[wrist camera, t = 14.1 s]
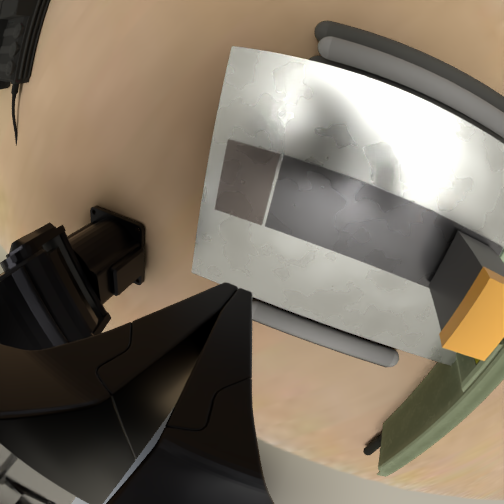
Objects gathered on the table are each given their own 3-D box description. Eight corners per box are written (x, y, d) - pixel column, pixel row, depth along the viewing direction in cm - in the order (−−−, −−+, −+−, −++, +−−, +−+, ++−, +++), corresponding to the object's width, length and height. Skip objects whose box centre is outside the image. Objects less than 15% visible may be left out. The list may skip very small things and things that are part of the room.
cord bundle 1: (305, 78, 16) (296, 73, 13) (319, 22, 13) (313, 8, 11) (499, 162, 13) (519, 171, 11) (515, 108, 11) (536, 110, 9)
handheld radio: (506, 296, 17) (380, 445, 30) (479, 285, 18) (358, 440, 30) (534, 352, 11) (373, 489, 24) (505, 343, 12) (349, 485, 25)
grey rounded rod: (244, 306, 25) (231, 328, 22) (254, 268, 23) (241, 288, 20) (390, 359, 23) (391, 383, 20) (414, 327, 20) (418, 351, 18)
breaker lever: (426, 286, 16) (441, 347, 12) (457, 228, 14) (490, 277, 9) (463, 301, 16) (484, 360, 11) (494, 247, 14) (531, 298, 9)
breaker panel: (203, 260, 24) (190, 274, 22) (244, 51, 16) (230, 45, 14) (462, 353, 20) (467, 372, 18) (557, 189, 12) (573, 199, 10)
